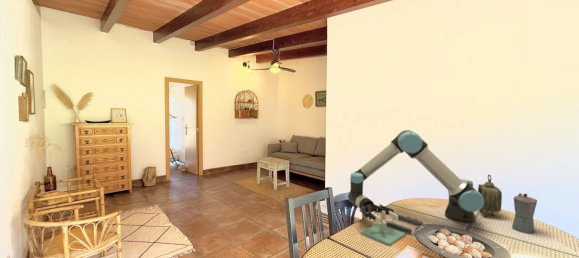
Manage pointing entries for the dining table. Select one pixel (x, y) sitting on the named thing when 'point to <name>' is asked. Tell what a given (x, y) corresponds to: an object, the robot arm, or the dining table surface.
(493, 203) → the olive green lantern
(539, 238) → the dining table surface
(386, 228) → the teal board
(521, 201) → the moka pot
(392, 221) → the pipe connector
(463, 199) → the robot arm
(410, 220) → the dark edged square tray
